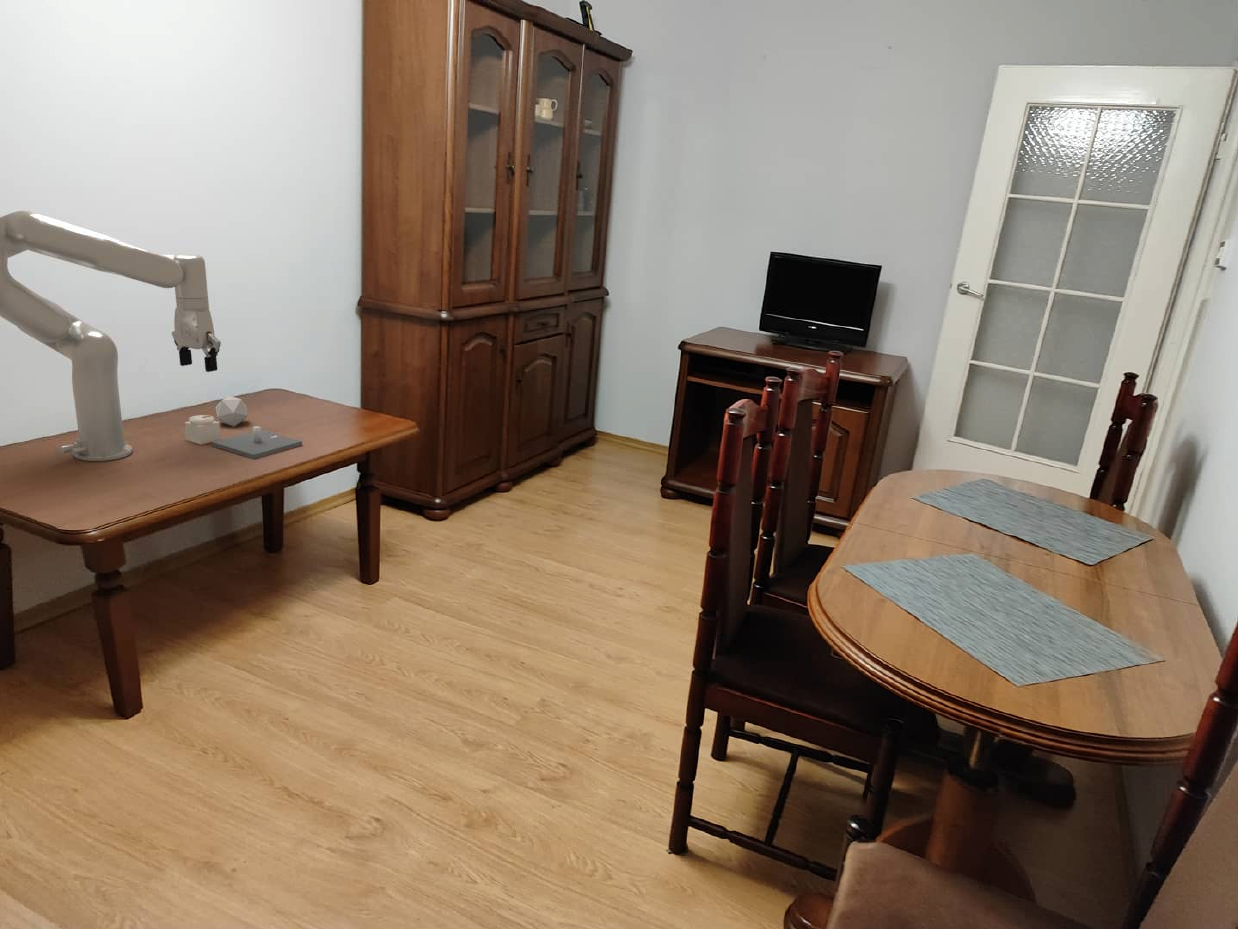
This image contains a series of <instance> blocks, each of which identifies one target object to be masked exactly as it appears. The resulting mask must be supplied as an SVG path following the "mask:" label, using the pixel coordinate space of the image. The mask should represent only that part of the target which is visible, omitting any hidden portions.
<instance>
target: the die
mask: <svg viewBox="0 0 1238 929" xmlns="http://www.w3.org/2000/svg"><path fill="white" fill-rule="evenodd" d="M215 411H216V417H217V419H218V420H219V421H220V422H221V423H222V424H224V425H228V426H230V427H236V426H238V425H239V424H240V423H242V422H244V420H246V419H247V418H248V417H249V412H248V408H247V405H246V403H245V402H244V401H243V400H242V399H241V398H238V397H235V396H232V395H229V396H228V397H225V398H223V399H221V401H219V403H217V405H216V406H215Z"/></svg>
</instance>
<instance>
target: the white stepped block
mask: <svg viewBox="0 0 1238 929" xmlns="http://www.w3.org/2000/svg"><path fill="white" fill-rule="evenodd" d="M188 419H189V421H185V422H184V432H185V440H186V441H188V442H191V443H194V444H198V445H200V446H201V445H205V444H208V443H212V442H213V441H217V440H221V429H220V428H221V427H220V425H221V424H220V422H219V421H216V420H215V417H214V415H211V414H208V415H207V414H199V415H198V414H197V415H193V416H190V417H189V418H188Z"/></svg>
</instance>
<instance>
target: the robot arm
mask: <svg viewBox="0 0 1238 929" xmlns="http://www.w3.org/2000/svg"><path fill="white" fill-rule="evenodd" d="M26 251H30V252H34V253H36V254H40V255H44V256H47V257H51V258H55V259H58V260H62V261H65V262H68V263H72V264H74V265H78V266H82V267H85V268H88V269H89V268H90V269H92V270H96V271H99V272H103V273H108V274H112V275H113V274H114V275H117V276H121V277H124V278H126V279H127V278H128V279H131V280H135V281H138V282H141V283H144V284H148V285H152V286H155V287H159V288H163V289H172V288H174V294H175V302H176V305H175V306H176V307H175V309H174V316H173V317H174V318H173V320H174V321H173V322H174V324H173V325H174V331H172V332H171V335H172V338H173V342H174V344H175V345H176V350H177V351H178V357H179V365H180V366H181V367H185V366H190V365H193V359H192V358H193V357H192V349H194V350H201V351H202V352H203V354H204V355H205V356H204V358H203V359H204V360H203V361H204V368H205V372H206V373H210V372H214V371H215V372H216V371H218V361H217V356H218V355H219V354H218V353H219V352H220V348H221V345H222V344H221V343H222V342H221V340H219V339H218V338H217V337H216V336H215V329H214V322H213V319H212V315H211V310H210V304H209V303H210V302H209V292H208V281H207V270H206V269H207V268H206V263H205V262H206V261H205V259H204V257H203V256H201V255H198V254H192V253H191V254H190V253H181V254H180V253H179V254H174V255H173V254H163V253H162V254H161V253H155V252H153V251H152V252H151V251H148V250H145V249H143V248H139V247H136V246H135V245H134V246H133V245H131V244H127V243H125V242H123V241H120V240H117V239H115V238H112V237H110V236H108V235H105V234H102V233H99V232H96V231H93V230H90V229H86V228H84V227H81V226H77V225H74V224H72V223H71V224H70V223H68V222H66V221H61V220H59V219H55V218H52V217H49V216H46V215H43V214H39V213H36V212H32V211H29V210H18V211H14V212H11V213H8V214H6V215H2V216H0V317H1V318H3V319H4V320H5V321H7V322H8V323H11V324H13V325H14V326H16V327H17V328H18V329H19V330H20V331H21V332H22V333H24V334H25V335H28V336H29V337H31V338H33V340H34V339H35V340H37V341H38V342H39V343H42V344H43V345H44V346H47V347H49V348H50V349H51V350H54V351H56V352H57V353H59V354H60V355H63V357H66V358H67V359H69V360H71V368H72V369H71V370H72V371H71V387H72V393H73V394H72V395H73V400H74V408H75V415H76V422H77V423H76V424H77V430H78V437H76V438H74V442H72V443H71V444H66V445H61V446H59V447H58V451H59V453H60V454H61V455H64V454H68V453H71V454H72V455H73V457H74V458H76V459H78V460H81V461H88V462H106V461H114V460H118V459H122V458H125V457H129V456H130V455H131V454H132V453H133V447H132V446H131V444H128V443H126V442H125V437H124V428H123V426H124V425H123V420H122V419H123V417H122V409H121V399H120V398H121V397H120V392H119V390H120V389H119V379H118V377H119V376H118V366H119V365H118V364H119V353H118V349H117V345H116V344H115V341H114V340H113V339H112V338H111V337H110V336H109V335H108V334H106V333H105V332H103V331H101V330H99V329H98V328H95V327H93V326H92V325H90V324H88V323H86V322H84V321H83V320H81V319H79V318H78V317H76V316H75V315H73V314H71V313H70V312H68V311H66V310H65V309H64V308H62V307H61V306H60V305H59V304H57V303H55V302H54V301H51V300H50V299H48V298H45V297H43V296H41V295H39V294H38V293H36V292H34V291H33V290H32V289H30V288H29V287H27V286H25V285H24V284H22V283H21V282H19V281H17V280H16V279H15V278H14V277H13V276H12V275H11V273H10V272H9V267H8V261H9V260H8V259H9V258H11V257H14V256H16V255H19V254H22V253H23V252H26Z"/></svg>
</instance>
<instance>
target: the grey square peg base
mask: <svg viewBox="0 0 1238 929" xmlns="http://www.w3.org/2000/svg"><path fill="white" fill-rule="evenodd" d="M300 446H303V441H302V440H299V439H295V438H293V437H288V436H285V435H282V434H280V433H279V434H278V433H274V432H272V431H269V430H265V429H262V427H261V426H252V431H249V432H246V433H242V434H237V435H233V436H229V437H226V438H220V440H217V441H213V442H211V447H213V448H217V449H221V450H222V451H227V452H230V453H232V454H237V455H239V456H243V457H247V458H249V459H253V460H255V459H258V458H263V457H266V456H269V455H272V454H276V453H281V452H283V451H287V450H290V449H294V448H298V447H300Z"/></svg>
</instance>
